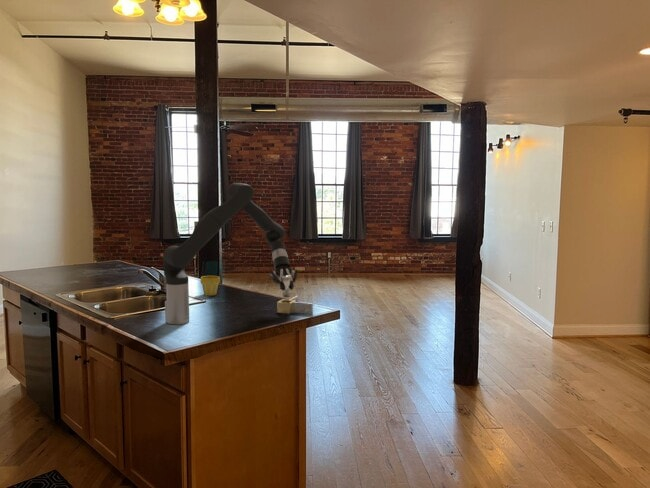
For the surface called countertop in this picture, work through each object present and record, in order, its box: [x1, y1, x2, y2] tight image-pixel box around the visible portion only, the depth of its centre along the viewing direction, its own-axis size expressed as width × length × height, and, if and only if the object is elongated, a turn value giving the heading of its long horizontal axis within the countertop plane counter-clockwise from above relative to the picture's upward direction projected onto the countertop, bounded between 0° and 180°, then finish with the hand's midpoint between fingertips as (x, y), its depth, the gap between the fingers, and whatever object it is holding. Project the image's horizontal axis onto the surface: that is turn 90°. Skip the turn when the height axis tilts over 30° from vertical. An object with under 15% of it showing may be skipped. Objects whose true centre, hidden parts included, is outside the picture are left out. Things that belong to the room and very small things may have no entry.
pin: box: [281, 274, 292, 298], centre depth 229 cm, size 5×5×10 cm
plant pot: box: [200, 275, 221, 296], centre depth 269 cm, size 10×10×10 cm
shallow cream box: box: [276, 295, 314, 315], centre depth 233 cm, size 17×17×5 cm
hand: (287, 289), depth 228 cm, fingers closed on pin, 3 cm apart
